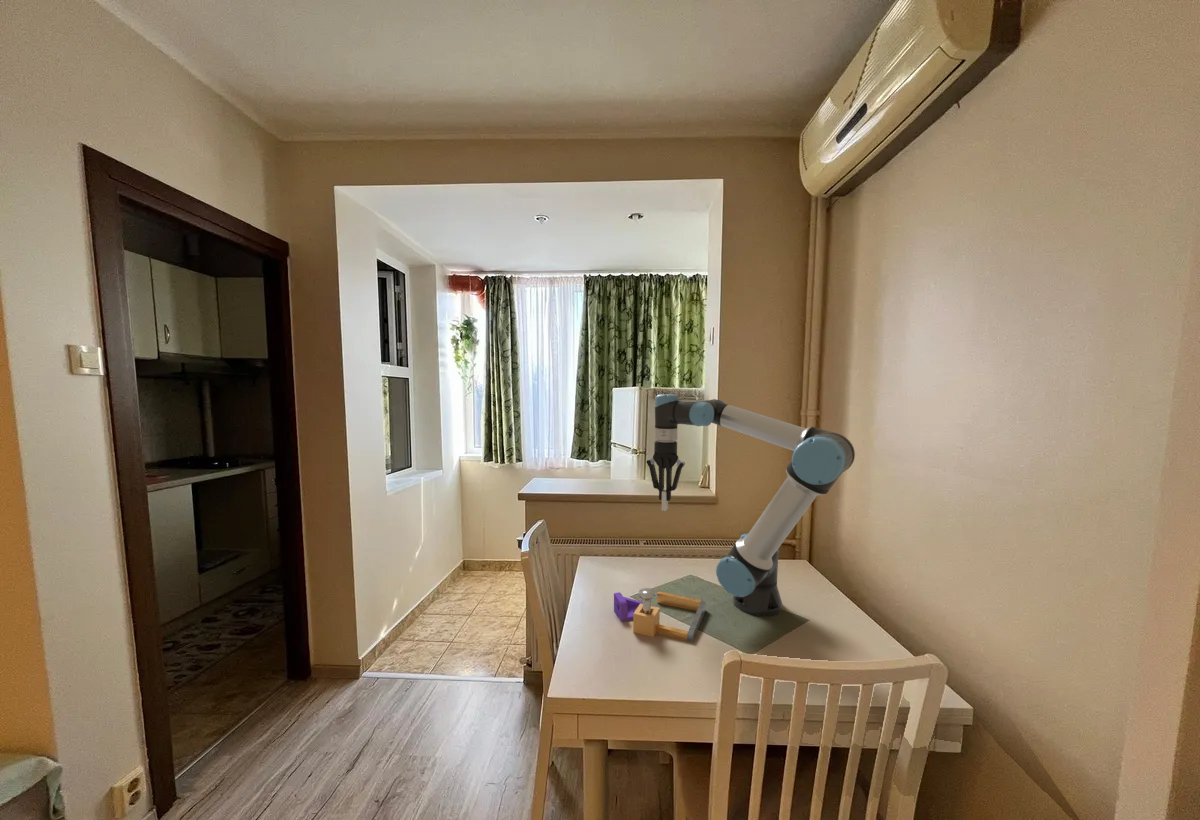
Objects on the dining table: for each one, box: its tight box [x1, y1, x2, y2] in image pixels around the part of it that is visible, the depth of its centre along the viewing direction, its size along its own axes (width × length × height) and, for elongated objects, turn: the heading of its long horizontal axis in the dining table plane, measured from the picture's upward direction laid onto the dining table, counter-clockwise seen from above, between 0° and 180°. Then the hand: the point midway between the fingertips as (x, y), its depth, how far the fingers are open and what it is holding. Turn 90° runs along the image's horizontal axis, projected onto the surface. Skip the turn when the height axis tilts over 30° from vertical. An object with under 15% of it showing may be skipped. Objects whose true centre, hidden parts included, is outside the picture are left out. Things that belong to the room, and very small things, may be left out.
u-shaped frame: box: [655, 591, 707, 643], centre depth 132 cm, size 16×20×4 cm
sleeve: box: [632, 604, 661, 638], centre depth 126 cm, size 6×6×7 cm
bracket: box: [613, 591, 643, 622], centre depth 136 cm, size 12×7×7 cm, turn 107°
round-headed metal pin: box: [638, 587, 656, 615], centre depth 126 cm, size 4×4×9 cm
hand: (664, 509), depth 148 cm, fingers closed
